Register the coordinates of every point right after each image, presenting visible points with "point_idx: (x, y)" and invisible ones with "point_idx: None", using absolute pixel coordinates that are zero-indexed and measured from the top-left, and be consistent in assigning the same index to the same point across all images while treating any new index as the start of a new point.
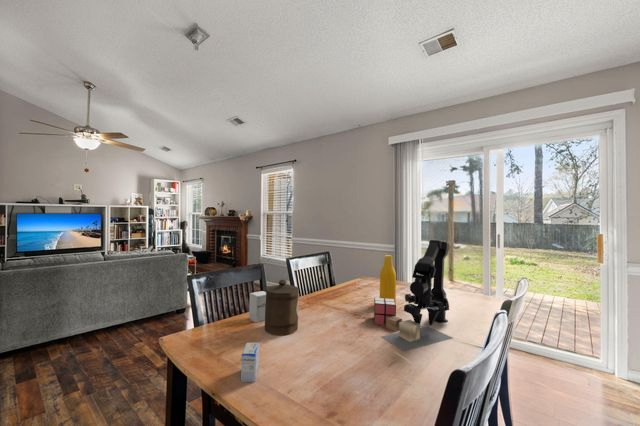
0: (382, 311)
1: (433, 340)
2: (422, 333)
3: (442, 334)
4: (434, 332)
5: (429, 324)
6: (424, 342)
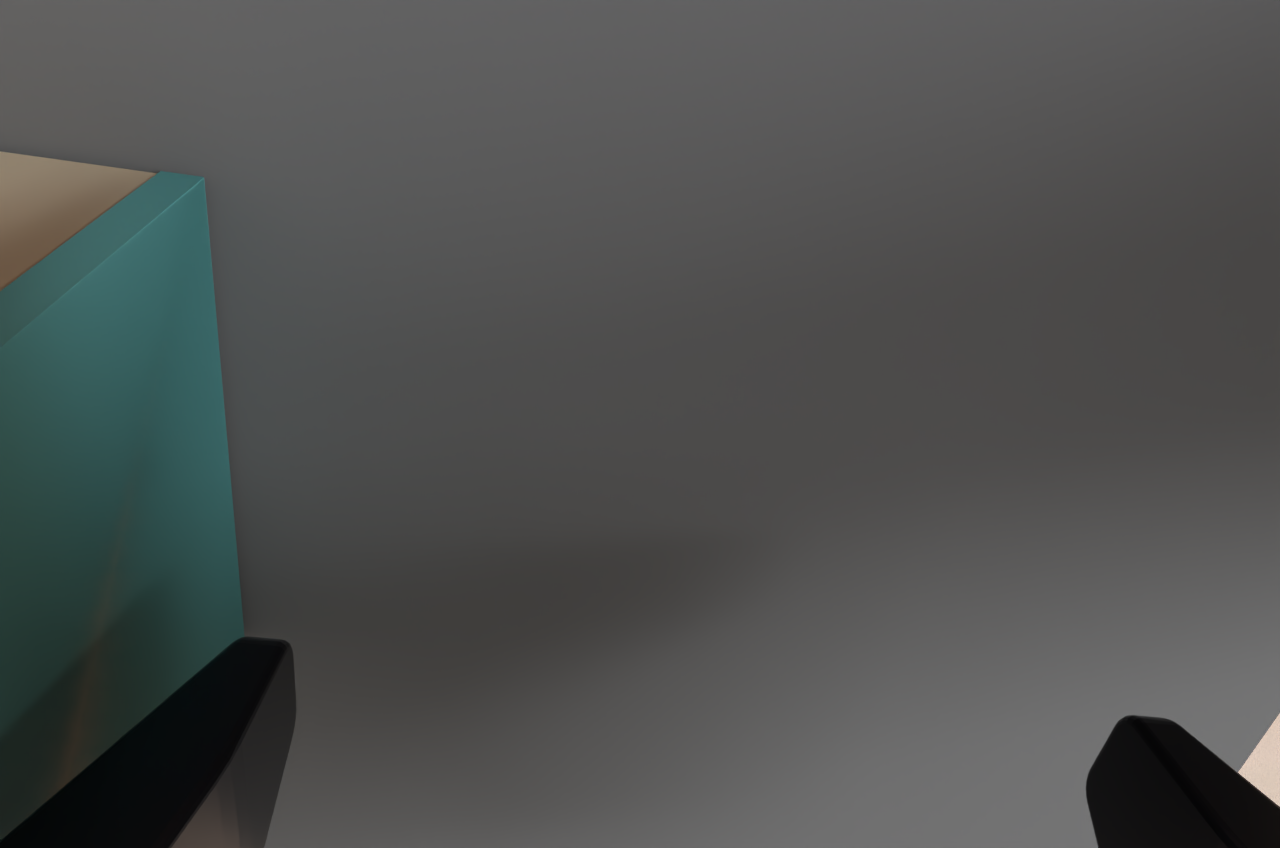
0: None
1: (540, 814)
2: (714, 419)
3: None
4: (1147, 570)
5: (1124, 749)
6: None
